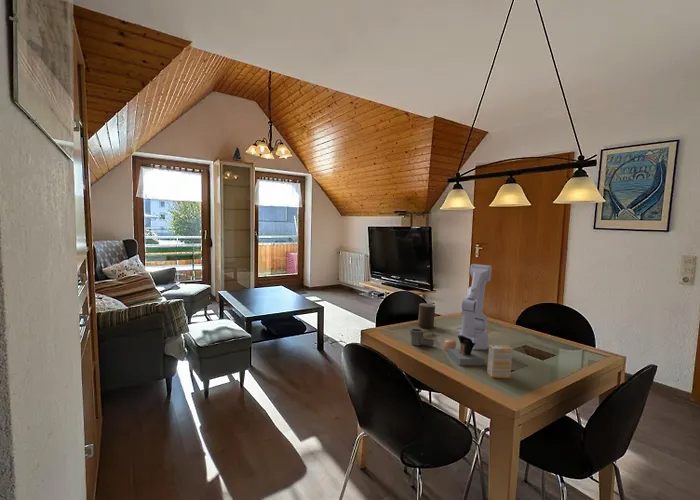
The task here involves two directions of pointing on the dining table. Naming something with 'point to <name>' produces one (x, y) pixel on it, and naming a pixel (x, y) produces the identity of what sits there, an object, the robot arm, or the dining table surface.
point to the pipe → (420, 338)
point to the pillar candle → (426, 315)
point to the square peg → (463, 350)
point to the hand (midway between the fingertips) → (465, 352)
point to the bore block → (465, 358)
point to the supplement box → (499, 361)
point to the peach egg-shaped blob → (449, 344)
